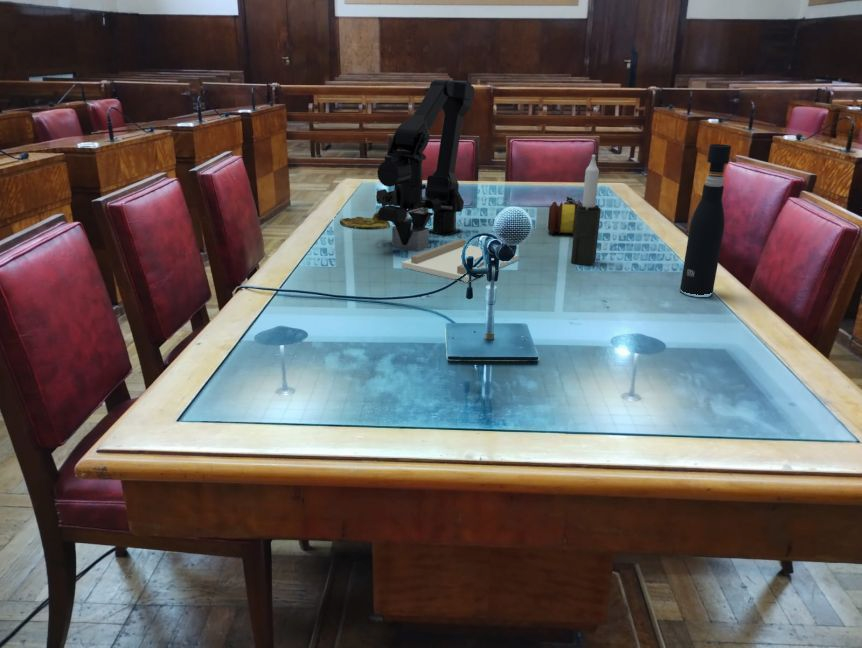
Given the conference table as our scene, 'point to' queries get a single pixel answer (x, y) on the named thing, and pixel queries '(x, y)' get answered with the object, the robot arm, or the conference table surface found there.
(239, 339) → the conference table surface
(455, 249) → the plate
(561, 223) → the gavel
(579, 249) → the candle
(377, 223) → the seal
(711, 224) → the black water bottle
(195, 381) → the conference table surface
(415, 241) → the block
